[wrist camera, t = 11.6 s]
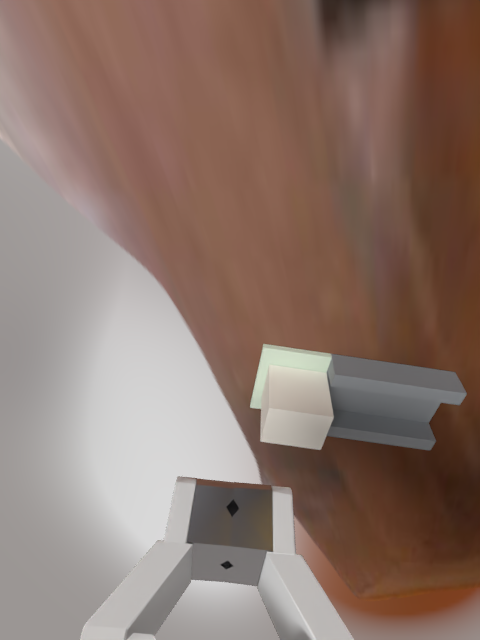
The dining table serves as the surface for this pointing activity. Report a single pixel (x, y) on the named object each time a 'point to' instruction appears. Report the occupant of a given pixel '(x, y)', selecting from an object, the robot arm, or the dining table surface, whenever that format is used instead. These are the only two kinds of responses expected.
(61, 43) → the dining table surface
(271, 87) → the dining table surface
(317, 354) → the chute
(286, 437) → the block
